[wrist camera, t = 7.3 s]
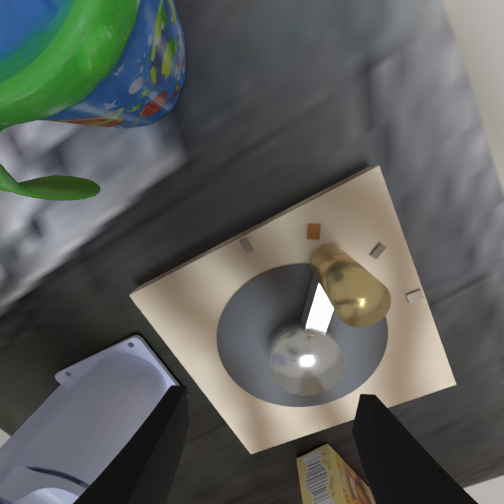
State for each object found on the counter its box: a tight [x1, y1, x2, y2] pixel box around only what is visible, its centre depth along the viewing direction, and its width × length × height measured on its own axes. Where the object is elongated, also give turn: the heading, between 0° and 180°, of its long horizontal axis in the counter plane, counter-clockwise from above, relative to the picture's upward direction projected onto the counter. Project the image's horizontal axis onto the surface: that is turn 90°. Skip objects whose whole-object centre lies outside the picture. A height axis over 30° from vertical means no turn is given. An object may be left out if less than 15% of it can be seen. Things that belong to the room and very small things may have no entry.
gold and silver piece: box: [269, 244, 391, 395], centre depth 14 cm, size 11×5×6 cm, turn 170°
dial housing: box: [129, 166, 456, 454], centre depth 19 cm, size 19×19×2 cm
